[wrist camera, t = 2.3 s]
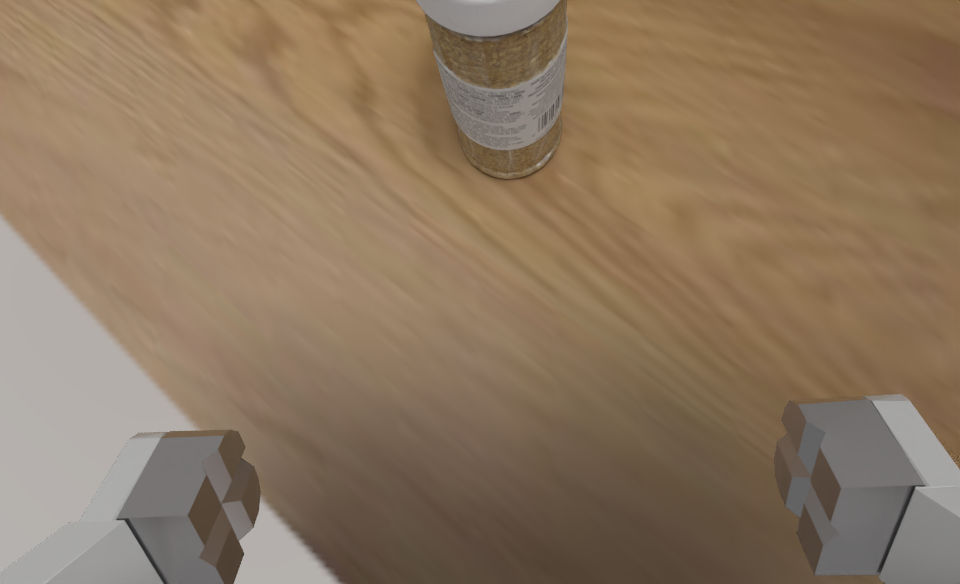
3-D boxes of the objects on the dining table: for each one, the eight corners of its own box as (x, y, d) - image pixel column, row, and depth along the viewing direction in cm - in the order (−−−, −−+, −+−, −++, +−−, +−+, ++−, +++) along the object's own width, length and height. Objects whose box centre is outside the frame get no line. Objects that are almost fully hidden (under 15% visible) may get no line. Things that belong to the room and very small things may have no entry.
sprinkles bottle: (503, 65, 30) (474, -203, 17) (584, 125, 29) (618, -109, 16) (436, 142, 30) (353, -73, 17) (516, 204, 29) (495, 31, 16)
